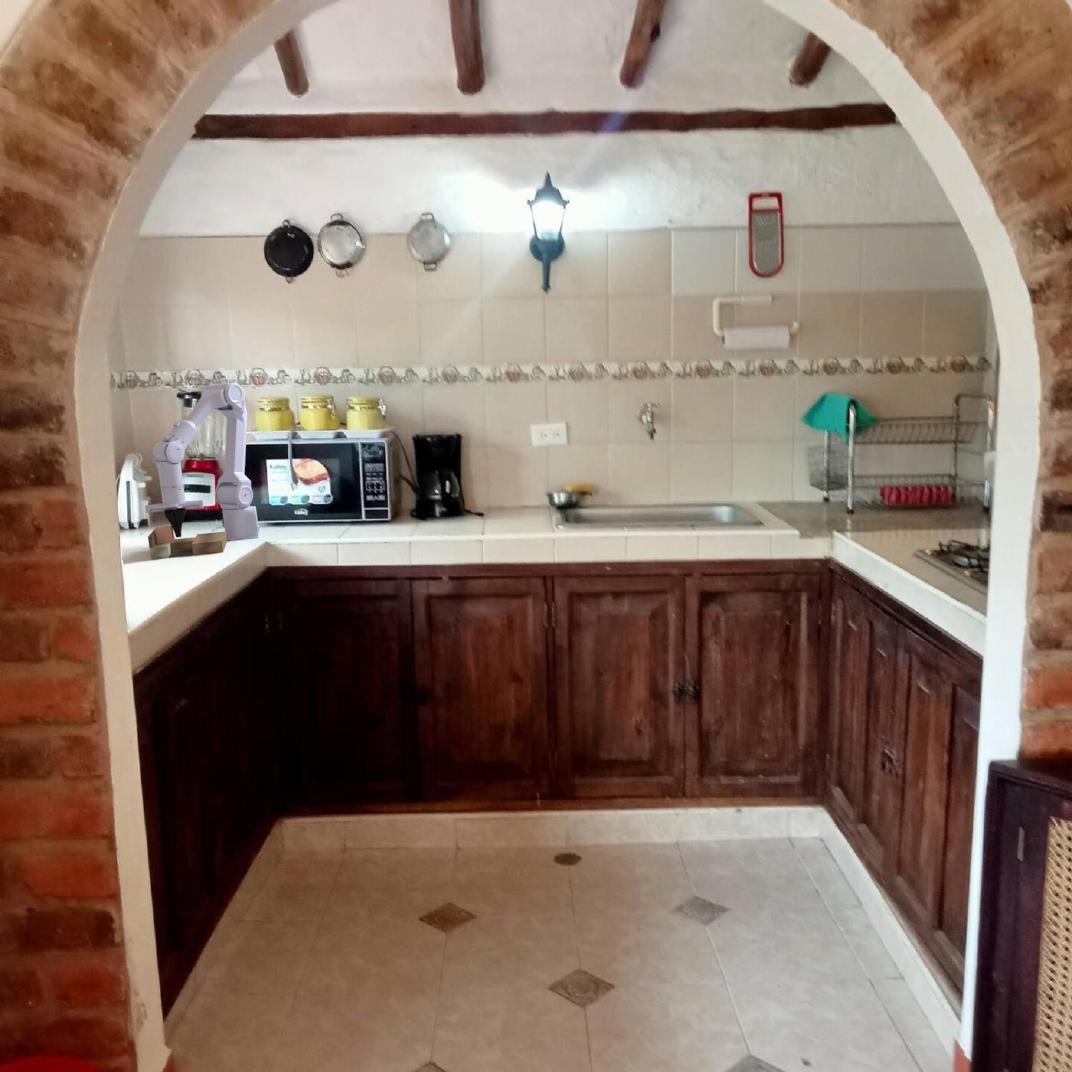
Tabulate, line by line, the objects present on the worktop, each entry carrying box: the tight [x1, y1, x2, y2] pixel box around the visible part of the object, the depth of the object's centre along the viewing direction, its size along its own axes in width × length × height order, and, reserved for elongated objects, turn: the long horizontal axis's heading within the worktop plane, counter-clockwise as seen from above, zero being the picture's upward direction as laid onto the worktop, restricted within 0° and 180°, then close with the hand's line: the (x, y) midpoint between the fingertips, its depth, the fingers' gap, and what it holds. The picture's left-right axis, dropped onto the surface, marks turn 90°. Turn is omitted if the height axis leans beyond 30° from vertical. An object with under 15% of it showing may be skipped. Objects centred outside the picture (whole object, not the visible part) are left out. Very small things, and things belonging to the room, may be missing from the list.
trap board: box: [147, 528, 228, 560], centre depth 254 cm, size 18×16×6 cm
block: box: [154, 524, 175, 544], centre depth 252 cm, size 4×4×4 cm
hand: (178, 536), depth 253 cm, fingers closed
